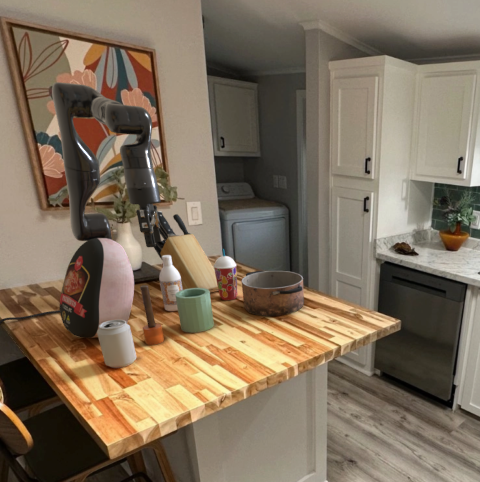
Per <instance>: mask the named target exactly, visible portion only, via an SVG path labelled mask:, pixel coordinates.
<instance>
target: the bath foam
mask: <svg viewBox="0 0 480 482" xmlns="http://www.w3.org/2000/svg"><path fill="white" fill-rule="evenodd" d="M161 261H162V265H163V266H162V268H161V270H160V271H159V276H158V278H159V279H158V281H159V286H160V291H161V296H162V300H163V301H162V302H163V307H164V310H165V311H167V312H178V308H177V302H176V296H175V295H176V293H177V292H179V291H181V290H183V288H182V282H181V276H180V274H179V272H178V271H177V269H176V268H175V267H174V266H173V265H172V259H171V255H164V256H162V259H161Z"/></svg>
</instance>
